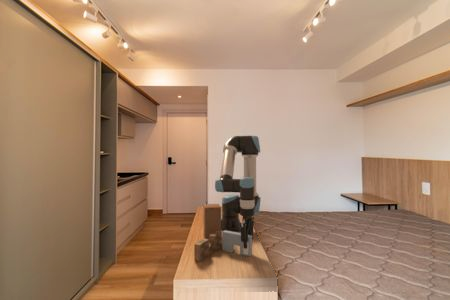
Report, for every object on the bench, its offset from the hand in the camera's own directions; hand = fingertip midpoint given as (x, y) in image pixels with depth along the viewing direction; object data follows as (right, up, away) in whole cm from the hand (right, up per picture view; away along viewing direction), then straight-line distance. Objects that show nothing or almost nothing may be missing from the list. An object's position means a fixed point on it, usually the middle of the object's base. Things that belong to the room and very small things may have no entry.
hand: (247, 252), depth 119 cm
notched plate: (-5, -1, +3) cm, 6 cm away
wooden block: (-20, -2, +24) cm, 31 cm away
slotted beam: (-20, -1, +3) cm, 20 cm away
